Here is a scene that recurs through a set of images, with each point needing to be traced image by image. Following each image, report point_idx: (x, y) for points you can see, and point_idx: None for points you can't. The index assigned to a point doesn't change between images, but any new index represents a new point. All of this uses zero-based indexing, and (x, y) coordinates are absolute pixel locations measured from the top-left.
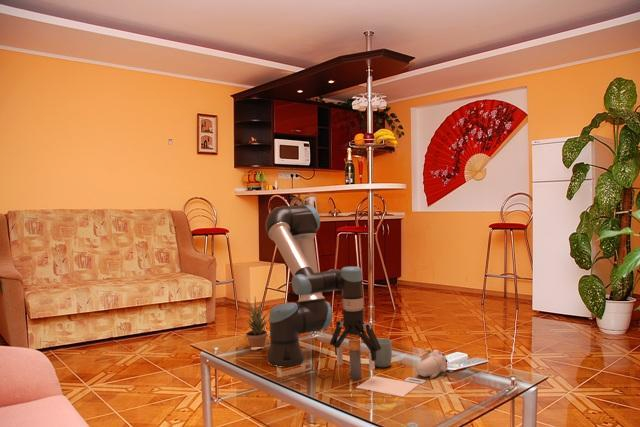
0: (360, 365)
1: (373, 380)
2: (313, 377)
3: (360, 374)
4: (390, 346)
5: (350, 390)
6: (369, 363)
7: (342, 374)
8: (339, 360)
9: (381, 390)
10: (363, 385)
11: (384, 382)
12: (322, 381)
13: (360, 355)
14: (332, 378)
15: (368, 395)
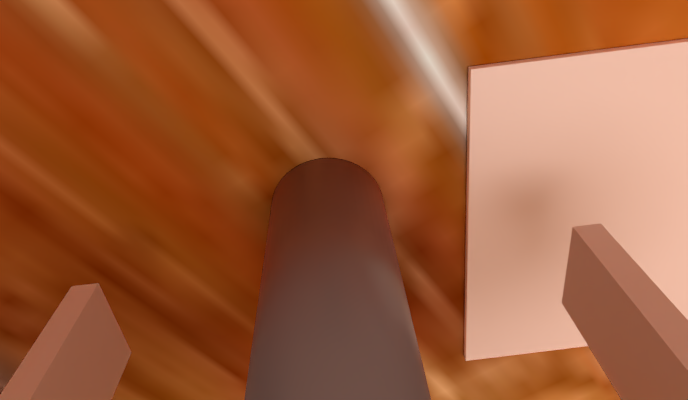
0: (403, 287)
1: (530, 180)
2: (6, 375)
3: (390, 230)
4: None
5: (449, 395)
6: (609, 367)
7: (127, 195)
8: (105, 390)
9: (683, 309)
10: (502, 311)
11: (658, 164)
12: (146, 390)
13: (417, 376)
14: (149, 314)
15: (608, 390)
